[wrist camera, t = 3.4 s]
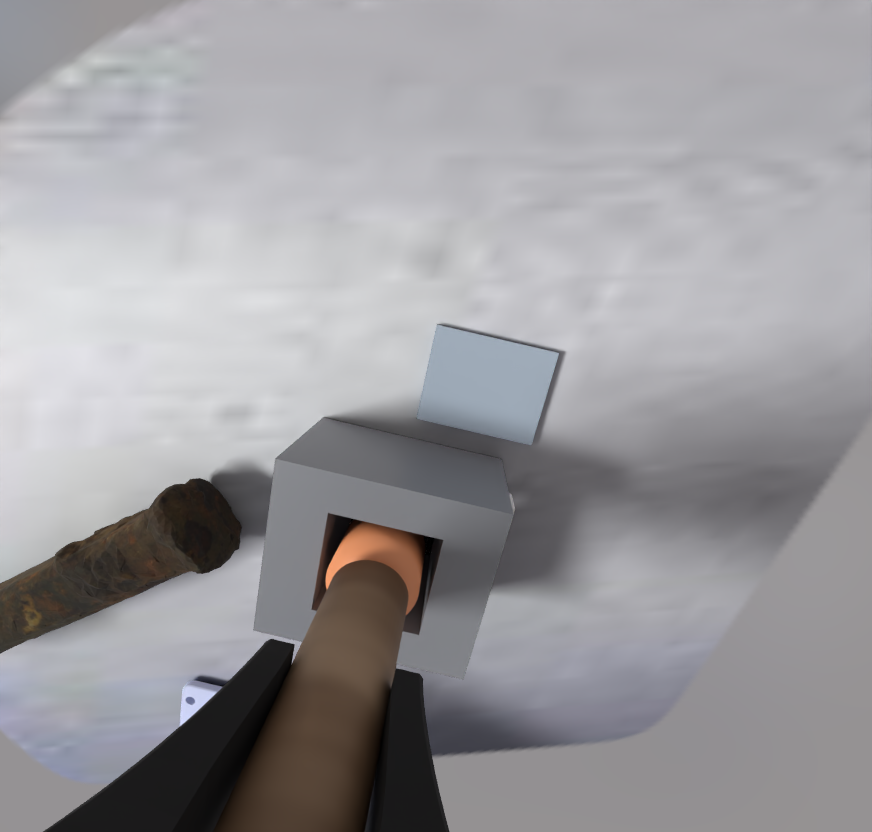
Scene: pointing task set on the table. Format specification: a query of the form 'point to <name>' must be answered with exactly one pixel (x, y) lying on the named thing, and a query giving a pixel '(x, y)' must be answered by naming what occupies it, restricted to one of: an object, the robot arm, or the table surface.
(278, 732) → the wooden rod
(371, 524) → the orange rounded piece
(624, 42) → the table surface
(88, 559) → the brown rough rod
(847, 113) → the table surface
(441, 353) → the pad
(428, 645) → the gray hollow box
